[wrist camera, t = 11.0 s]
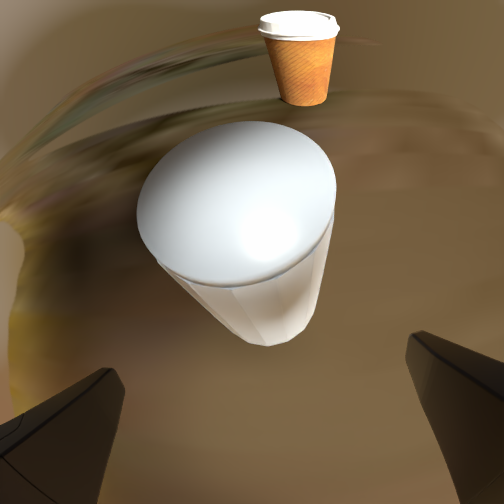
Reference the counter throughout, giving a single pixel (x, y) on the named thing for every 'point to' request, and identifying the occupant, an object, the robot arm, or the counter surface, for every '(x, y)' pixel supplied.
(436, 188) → the counter surface
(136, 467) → the counter surface
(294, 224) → the white tapered cylinder
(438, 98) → the counter surface
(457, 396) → the robot arm
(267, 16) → the disposable coffee cup
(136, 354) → the counter surface
